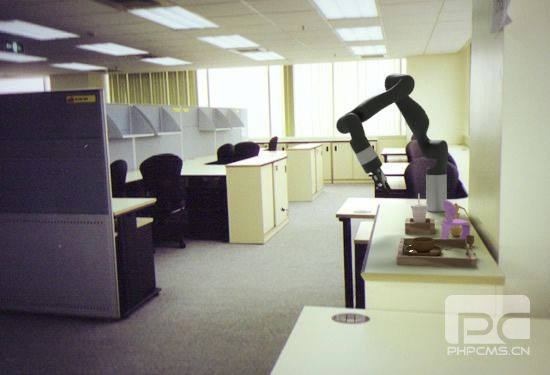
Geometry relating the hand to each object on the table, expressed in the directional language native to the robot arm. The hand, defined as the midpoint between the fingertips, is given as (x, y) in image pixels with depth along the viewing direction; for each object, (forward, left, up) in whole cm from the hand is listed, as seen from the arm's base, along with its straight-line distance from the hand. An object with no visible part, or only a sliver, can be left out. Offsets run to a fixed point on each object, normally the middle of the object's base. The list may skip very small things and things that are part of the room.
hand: (388, 193), depth 201 cm
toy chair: (+20, +24, -15) cm, 34 cm away
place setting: (+39, +17, -15) cm, 45 cm away
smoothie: (+3, +12, -14) cm, 18 cm away
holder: (+3, +12, -14) cm, 19 cm away
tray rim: (+39, +17, -14) cm, 44 cm away
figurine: (+10, +25, -15) cm, 30 cm away
